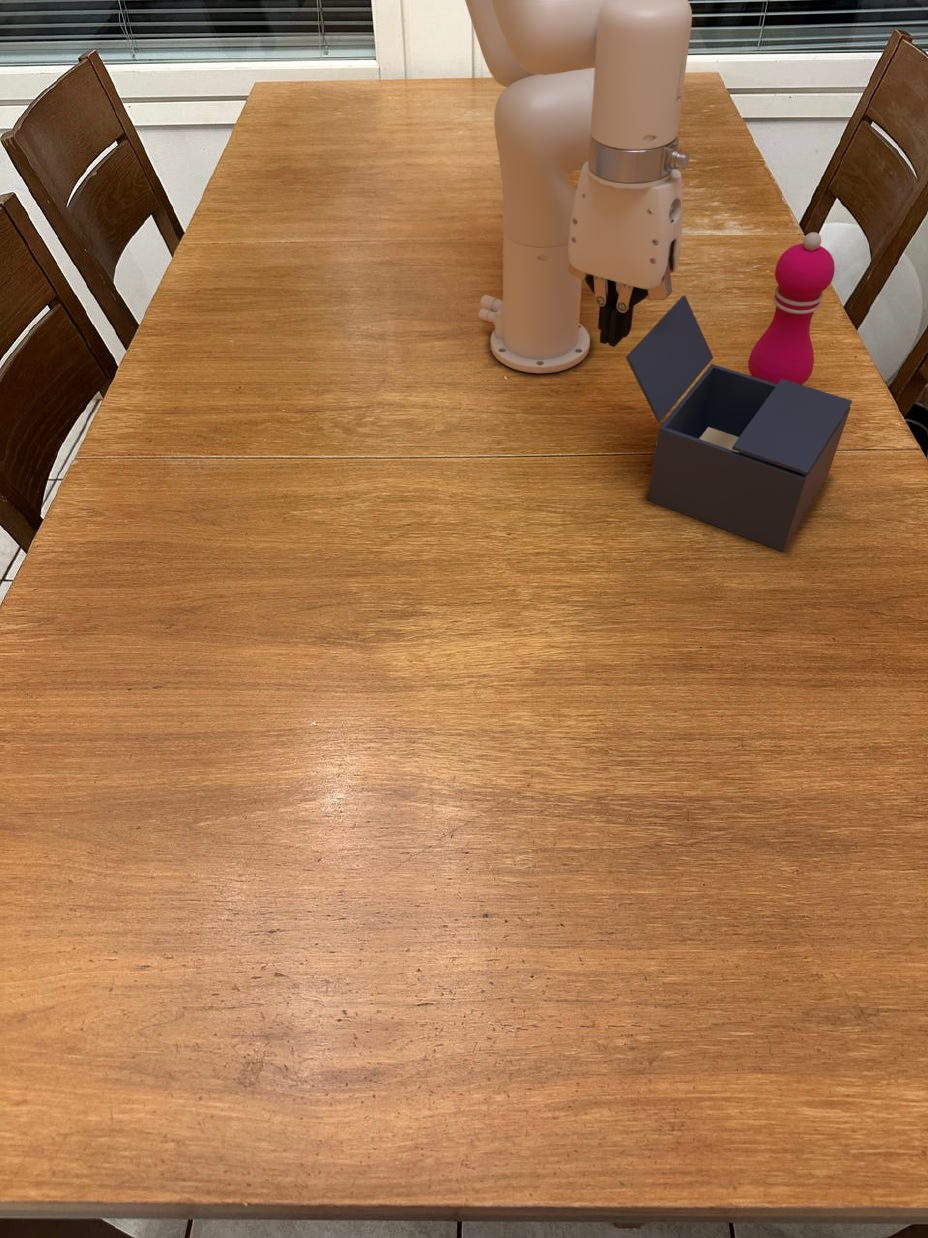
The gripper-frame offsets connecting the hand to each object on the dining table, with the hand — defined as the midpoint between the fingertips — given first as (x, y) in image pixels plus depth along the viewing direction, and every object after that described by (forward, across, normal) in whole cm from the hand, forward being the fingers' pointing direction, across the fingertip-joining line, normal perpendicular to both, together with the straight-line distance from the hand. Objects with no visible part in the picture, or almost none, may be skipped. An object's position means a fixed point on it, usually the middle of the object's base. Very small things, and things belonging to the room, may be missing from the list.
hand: (613, 338), depth 97 cm
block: (+13, -13, 0) cm, 18 cm away
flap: (0, -7, 0) cm, 7 cm away
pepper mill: (+14, -13, -18) cm, 26 cm away
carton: (+13, -16, 0) cm, 21 cm away
